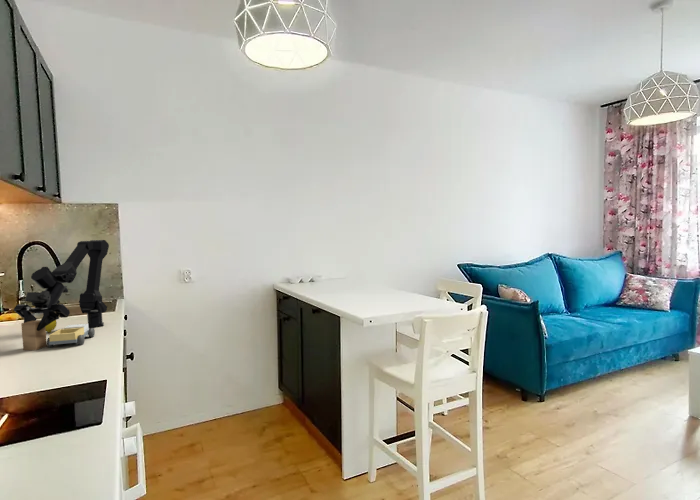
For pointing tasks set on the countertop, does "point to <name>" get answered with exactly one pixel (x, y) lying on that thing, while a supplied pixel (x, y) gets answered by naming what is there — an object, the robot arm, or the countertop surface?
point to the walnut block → (33, 335)
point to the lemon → (51, 326)
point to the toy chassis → (70, 335)
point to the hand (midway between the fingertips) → (30, 330)
